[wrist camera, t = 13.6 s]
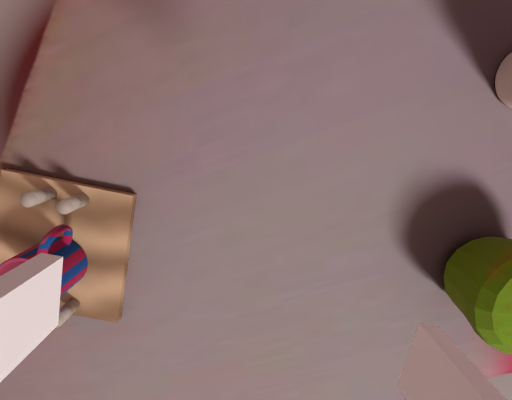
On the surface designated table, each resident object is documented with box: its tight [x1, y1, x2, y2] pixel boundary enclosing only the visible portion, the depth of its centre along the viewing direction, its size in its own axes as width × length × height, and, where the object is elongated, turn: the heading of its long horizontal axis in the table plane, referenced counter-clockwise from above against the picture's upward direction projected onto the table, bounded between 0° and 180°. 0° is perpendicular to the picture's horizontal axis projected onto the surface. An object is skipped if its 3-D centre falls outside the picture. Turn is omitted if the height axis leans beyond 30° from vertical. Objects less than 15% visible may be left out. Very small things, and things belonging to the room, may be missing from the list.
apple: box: [443, 236, 512, 354], centre depth 36 cm, size 12×12×11 cm
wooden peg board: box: [0, 169, 136, 327], centre depth 39 cm, size 18×16×5 cm
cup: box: [0, 224, 88, 297], centre depth 37 cm, size 7×10×7 cm
